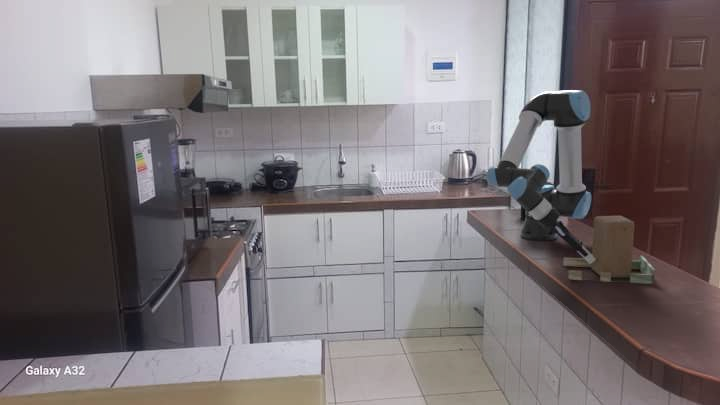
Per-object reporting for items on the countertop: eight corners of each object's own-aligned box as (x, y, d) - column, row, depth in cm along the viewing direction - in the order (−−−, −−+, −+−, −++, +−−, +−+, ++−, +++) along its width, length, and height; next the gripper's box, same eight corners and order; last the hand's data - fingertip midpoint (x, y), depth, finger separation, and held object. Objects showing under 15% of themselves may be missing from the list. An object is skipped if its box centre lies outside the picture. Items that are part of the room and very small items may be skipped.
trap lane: (563, 265, 182) (564, 252, 181) (641, 268, 175) (642, 255, 174) (568, 279, 168) (569, 265, 167) (653, 283, 160) (654, 269, 160)
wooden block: (632, 278, 166) (636, 221, 162) (601, 279, 167) (605, 222, 163) (618, 268, 176) (622, 214, 172) (590, 269, 176) (593, 215, 172)
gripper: (535, 216, 179) (581, 262, 178) (537, 225, 167) (587, 274, 166) (551, 202, 177) (598, 248, 175) (554, 210, 164) (605, 260, 163)
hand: (592, 261), depth 171 cm, fingers closed
